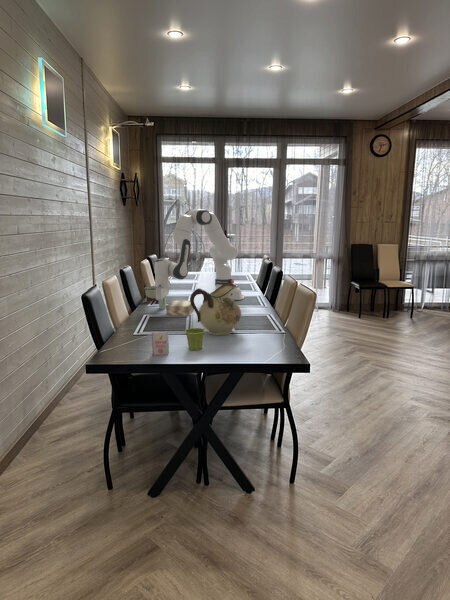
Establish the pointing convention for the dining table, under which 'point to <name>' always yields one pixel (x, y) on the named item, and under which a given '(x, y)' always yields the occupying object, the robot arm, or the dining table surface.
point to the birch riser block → (179, 308)
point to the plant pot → (195, 338)
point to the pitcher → (218, 310)
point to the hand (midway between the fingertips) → (162, 304)
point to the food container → (150, 293)
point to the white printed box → (160, 344)
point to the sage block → (163, 304)
